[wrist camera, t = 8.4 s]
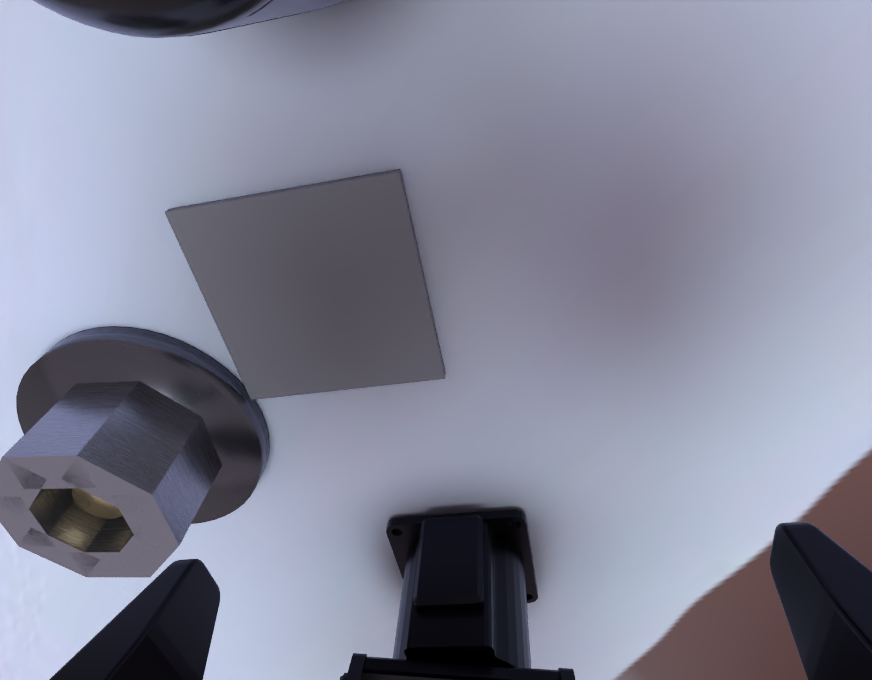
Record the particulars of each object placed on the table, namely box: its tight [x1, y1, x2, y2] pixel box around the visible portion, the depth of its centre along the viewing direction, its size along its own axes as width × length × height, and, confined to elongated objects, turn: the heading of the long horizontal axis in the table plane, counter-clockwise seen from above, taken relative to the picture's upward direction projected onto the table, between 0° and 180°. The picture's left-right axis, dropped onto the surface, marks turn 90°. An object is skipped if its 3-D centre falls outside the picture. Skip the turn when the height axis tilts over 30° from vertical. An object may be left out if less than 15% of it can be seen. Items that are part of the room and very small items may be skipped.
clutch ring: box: [0, 381, 222, 577], centre depth 22 cm, size 6×6×4 cm
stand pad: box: [165, 169, 445, 400], centre depth 20 cm, size 8×8×1 cm
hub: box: [17, 327, 269, 524], centre depth 23 cm, size 10×10×4 cm
